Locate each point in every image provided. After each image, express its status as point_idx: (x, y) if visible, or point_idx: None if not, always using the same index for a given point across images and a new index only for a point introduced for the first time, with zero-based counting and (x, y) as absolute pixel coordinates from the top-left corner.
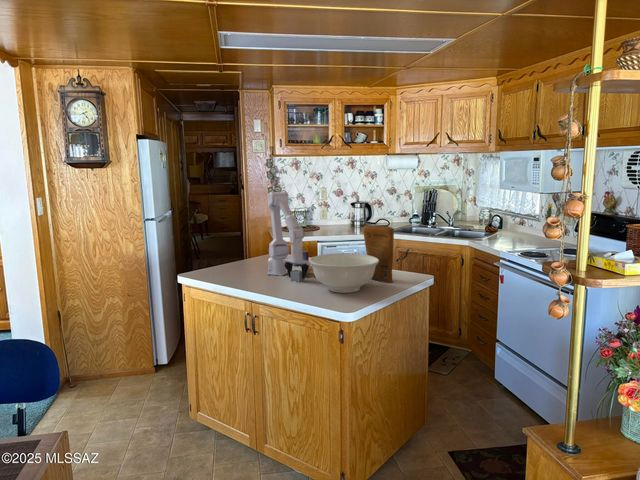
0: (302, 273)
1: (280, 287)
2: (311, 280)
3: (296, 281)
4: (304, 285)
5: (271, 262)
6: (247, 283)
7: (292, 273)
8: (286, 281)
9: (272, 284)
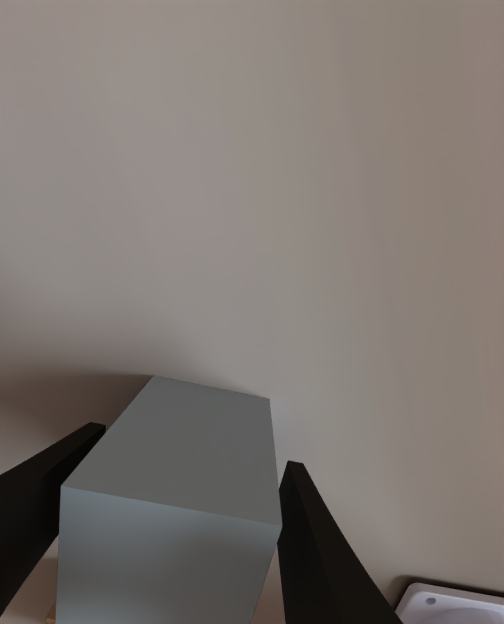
0: (21, 486)
1: (322, 19)
2: None
3: (190, 385)
4: (24, 226)
5: None
6: None
7: (234, 484)
8: (315, 381)
9: (474, 194)
